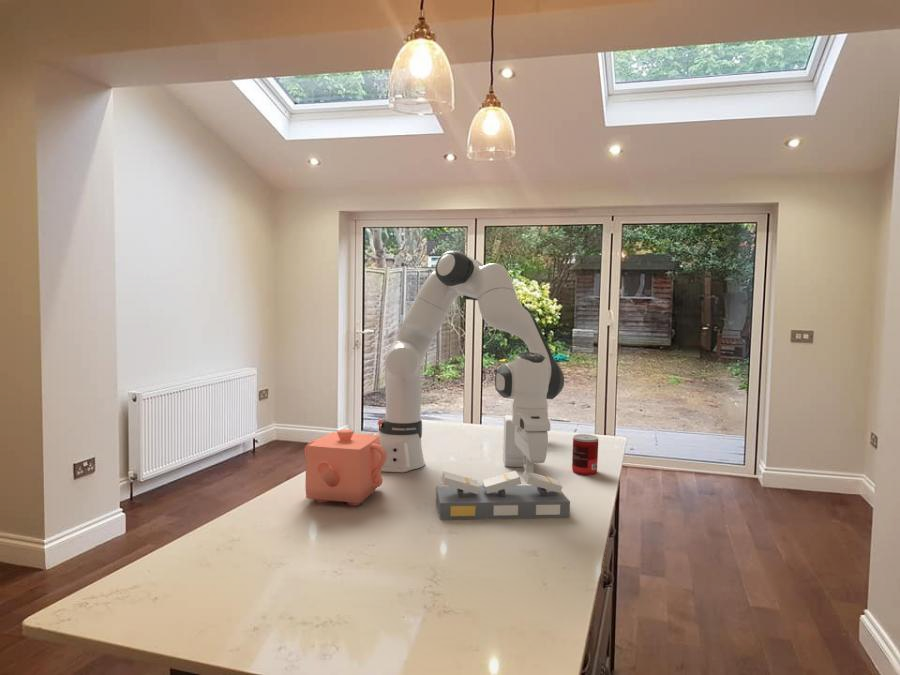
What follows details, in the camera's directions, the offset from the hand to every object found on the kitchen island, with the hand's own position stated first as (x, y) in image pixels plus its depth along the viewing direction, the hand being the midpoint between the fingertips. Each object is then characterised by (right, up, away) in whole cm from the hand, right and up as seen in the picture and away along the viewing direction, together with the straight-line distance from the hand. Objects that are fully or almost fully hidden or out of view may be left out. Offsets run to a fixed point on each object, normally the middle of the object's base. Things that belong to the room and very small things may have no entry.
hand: (528, 471), depth 160 cm
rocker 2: (-7, -3, -1) cm, 7 cm away
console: (-7, -10, 0) cm, 12 cm away
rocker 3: (+4, -3, 0) cm, 5 cm away
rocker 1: (-17, -3, -2) cm, 18 cm away
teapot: (-49, -9, +4) cm, 50 cm away
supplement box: (+2, -7, +43) cm, 43 cm away
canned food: (+22, -8, +35) cm, 42 cm away
